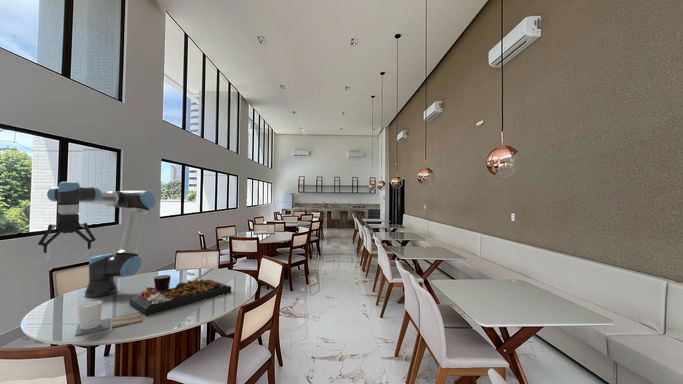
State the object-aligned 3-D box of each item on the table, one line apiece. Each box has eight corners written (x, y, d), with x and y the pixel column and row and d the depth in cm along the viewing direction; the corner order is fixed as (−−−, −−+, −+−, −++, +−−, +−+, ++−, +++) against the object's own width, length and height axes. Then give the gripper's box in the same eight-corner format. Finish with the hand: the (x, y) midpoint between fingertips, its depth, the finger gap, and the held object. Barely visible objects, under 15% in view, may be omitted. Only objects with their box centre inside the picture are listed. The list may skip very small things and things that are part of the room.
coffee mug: (162, 296, 171) (162, 279, 172) (150, 295, 173) (150, 278, 173) (177, 290, 183) (177, 273, 183) (165, 289, 184) (165, 273, 185)
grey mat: (78, 325, 132) (78, 324, 132) (109, 319, 139) (109, 318, 139) (75, 336, 122) (75, 334, 122) (109, 328, 128) (109, 327, 128)
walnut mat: (112, 318, 139) (112, 317, 139) (140, 313, 146) (140, 311, 146) (112, 328, 129) (112, 326, 129) (142, 321, 136) (142, 320, 136)
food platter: (145, 317, 142) (146, 296, 142) (129, 306, 157) (129, 286, 158) (231, 293, 177) (231, 276, 177) (210, 286, 193) (210, 270, 193)
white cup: (87, 323, 133) (87, 301, 133) (106, 322, 134) (106, 300, 134) (73, 331, 125) (73, 307, 125) (93, 330, 126) (93, 306, 126)
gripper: (29, 215, 131) (29, 262, 131) (101, 213, 147) (101, 255, 146) (33, 214, 137) (32, 259, 137) (102, 212, 153) (101, 253, 152)
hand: (68, 257), depth 142 cm, fingers open, 13 cm apart
